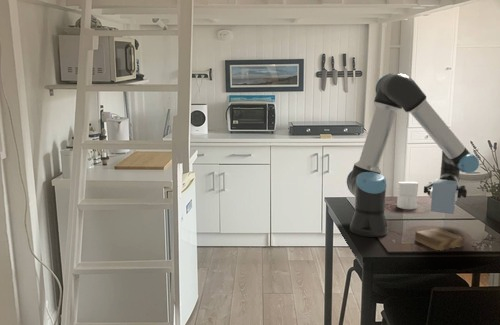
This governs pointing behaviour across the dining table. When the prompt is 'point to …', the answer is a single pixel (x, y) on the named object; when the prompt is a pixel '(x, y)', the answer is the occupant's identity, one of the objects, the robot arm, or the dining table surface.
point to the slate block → (443, 196)
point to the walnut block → (439, 239)
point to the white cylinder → (407, 195)
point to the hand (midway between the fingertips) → (443, 196)
